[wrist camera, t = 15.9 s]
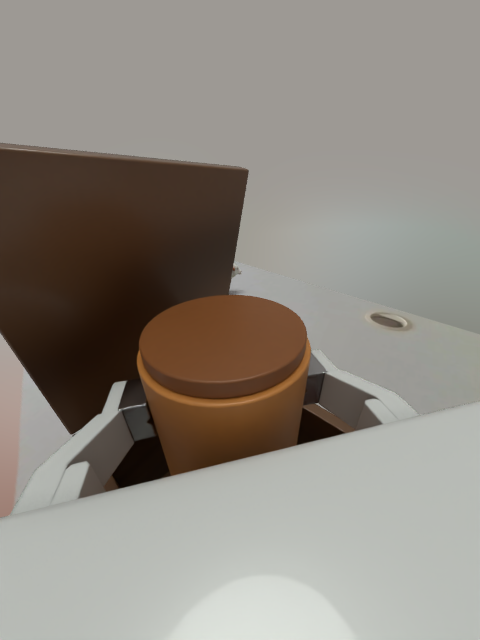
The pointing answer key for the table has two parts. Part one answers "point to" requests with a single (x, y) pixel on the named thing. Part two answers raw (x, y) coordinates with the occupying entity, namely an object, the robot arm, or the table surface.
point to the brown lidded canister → (224, 379)
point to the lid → (105, 260)
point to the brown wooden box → (151, 464)
